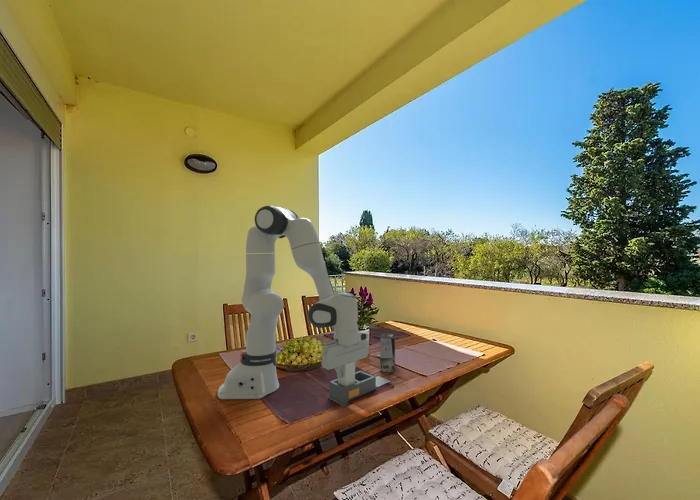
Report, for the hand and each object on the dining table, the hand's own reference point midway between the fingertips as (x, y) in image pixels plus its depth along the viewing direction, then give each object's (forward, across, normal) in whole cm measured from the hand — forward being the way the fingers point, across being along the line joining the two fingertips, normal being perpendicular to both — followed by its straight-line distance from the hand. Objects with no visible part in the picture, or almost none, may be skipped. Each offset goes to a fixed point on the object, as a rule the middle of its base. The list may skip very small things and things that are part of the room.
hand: (346, 374), depth 108 cm
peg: (+3, 0, 0) cm, 3 cm away
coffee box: (+9, +31, +7) cm, 33 cm away
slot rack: (+9, +8, 0) cm, 12 cm away
